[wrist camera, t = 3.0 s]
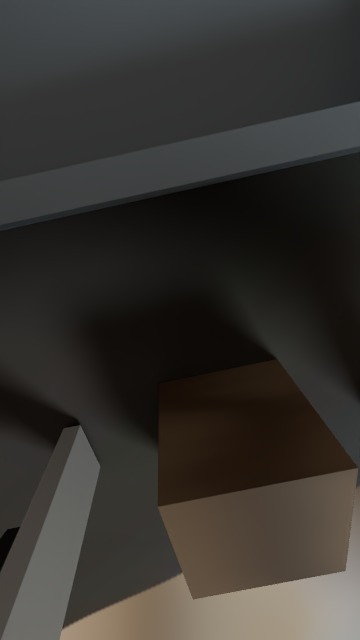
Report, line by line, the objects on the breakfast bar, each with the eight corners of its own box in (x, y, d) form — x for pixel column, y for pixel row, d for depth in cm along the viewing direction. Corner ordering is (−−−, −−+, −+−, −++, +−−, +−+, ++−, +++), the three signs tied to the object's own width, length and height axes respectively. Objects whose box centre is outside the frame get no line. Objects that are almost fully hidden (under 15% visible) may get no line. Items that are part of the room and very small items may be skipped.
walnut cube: (182, 461, 13) (193, 599, 9) (159, 382, 11) (157, 507, 7) (280, 442, 13) (345, 570, 8) (276, 358, 11) (358, 468, 6)
